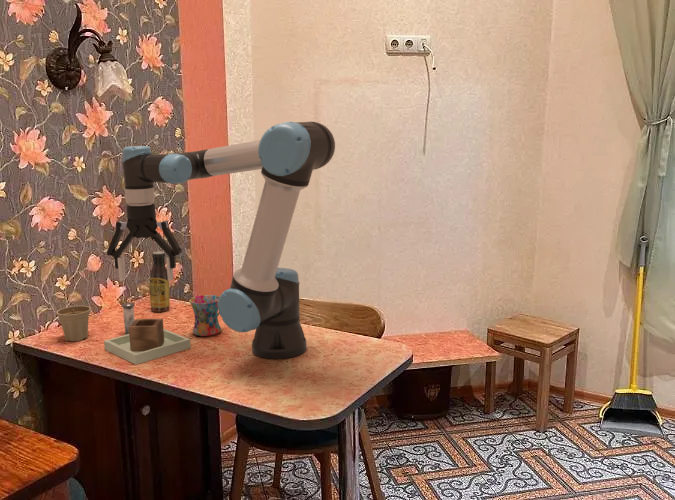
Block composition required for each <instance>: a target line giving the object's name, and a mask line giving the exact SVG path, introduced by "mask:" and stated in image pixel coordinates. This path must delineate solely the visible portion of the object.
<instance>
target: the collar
mask: <svg viewBox="0 0 675 500" xmlns="http://www.w3.org/2000/svg"><path fill="white" fill-rule="evenodd" d="M164 329H165V328H164V318H135V321H134V322H133V323H132V324H131V325H130V327H129V338H130V350H131V351H132V352H141V351H147V350H150V349H154V348H157V347H160V346H162V345H163V343H164Z"/></svg>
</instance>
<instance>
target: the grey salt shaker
mask: <svg viewBox="0 0 675 500" xmlns="http://www.w3.org/2000/svg"><path fill="white" fill-rule="evenodd" d="M134 307H135V303H134V302H132V301H131V302H124V303H122V304H121V308H122V310H123V311H122V312H123V322H124V335H127V334H129V327H130V325H131V324H132V323H133V322H134V321H135V320H136V318H135V309H134Z"/></svg>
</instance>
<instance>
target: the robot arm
mask: <svg viewBox="0 0 675 500" xmlns="http://www.w3.org/2000/svg"><path fill="white" fill-rule="evenodd" d="M335 149H336V141H335V137H334V135H333V133H332V132H331V130H330V129H329V128H328V127H327V126H326V125H324V124H322V123H319V122H316V121H301V122H300V121H298V122H295V121H285V122H284V121H283V122H281V123H278V124H275V125H272V126H271V127H269V128H268V129H266V131H265V132H264V133H263V134H262V136H261V138H260V139H258V140H257V139H256V140H254V141H253V140H252V141H247V142H240V143H235V144H230V145H224V146H219V147H212V148H208V149H202V150H201V149H200V150H195V151H187V152H186V151H185V152H176V153H175V152H174V153H156V154H155V153H152V148H151V147H150V146H149V145H134V146H133V145H131V146H130V145H129V146H124V148H123V149H122V153H121V154H122V155H121V156H122V158H121V159H122V162H121V164H122V170H123V180H124V193H125V203H126V204H127V206H126V218H127V221H126V222H124V221H123V220H120V221H118V222H115V231H114V234H113V236H112V239H111V241H110V244H109V246H108V249H107V252H106V255H108V256H110V257H113V258H114V259H113V261H114V268H115V269H116V270H117V269H118V280H119V282H123V281H125V280H126V279H127V277H126V265H125V256H124V255H122V254H123V253H124V251H125V250H126V249H127V248H128V246H129V245H130V244H131V242H132V241H133V239H134V238H136V239H141V238H143V239H148V238H149V239H152V240H153V241H154V242H155V243H156V244H157V245H158V246H159V248H161V249H162V251H163V252H165V255H167V256H166V258H165V259H166V260H165V262H166V269H167V276H168V281H169V282H171V281H172V280H174V269H175V268H176V266H177V264H176V263H177V261H176V257H177V256H179V255H180V254H181V253H182V252H183V250H182V248H181V247H180V245H179V243H178V241H177V239H176V238H175V236H174V234H173V232H172V231H171V229H170V226H169V225H170V224H169V221H168V220H163V221H159V222H158V221H157V215H156V214H157V213H156V212H157V211H156V204H154V202H155V200H156V199H155V188H154V183H163V184H171V185H174V184H183V183H186V182H188V181H191V180H197V179H206V178H211V177H217V176H223V175H229V174H231V175H232V174H237V173H243V172H244V173H245V172H251V171H257V170H261V172H260V173H261V174H260V175H262V177H263V179H264V184H263V188H262V191H261V194H260V195H261V196H260V198H259V203H258V206H257V211H256V214H255V218H254V221H253V222H254V223H253V225H252V229H251V233H250V237H249V241H248V243H247V248H246V251H245V255H244V257H243V263H242V266H241V268H240V269H237V270H236V271H234V273H233V276H232V279H231V284H230V287H229V288H228V289H225V290H223V292H222V293H221V294H220V295H219V300H218V312H219V316H220V317H221V318H222V321H223V323H224V324H225V325H226V326H227V327H228V328H229V329H231V330H232V331H235V332H236V333H237V332H238V333H248V332H251V331H254V330H255V332H254V337H253V339H252V341H251V349H252V350H251V351H252V353H253V355H255V356H257V357H259V358H263V359H271V360H283V359H291V358H294V357H297V356H298V357H299V356H300V355H302V354H304V353H305V352H306V351H307V349H308V348H307V347H308V346H307V345H308V344H307V343H308V342H307V339H306V338H307V337H305V333H304V331H303V327H302V324H301V322H300V320H301V319H300V315H301V314H300V281H299V273H298V272H297V271H296V270H295V269H293V268H286V267H279V265H280V261H281V257H282V254H283V250H284V247H285V244H286V240H287V236H288V233H289V229H290V227H291V223H292V221H293V216H294V213H295V209H296V206H297V202H298V199H299V195H300V192H301V190H304V189H306V188H308V186H309V185H310V180H311V177H312V174H313V171H315V170H318V169H321V168H323V167H324V166H326V165H327V164H328V163H329V162H330V161H331V160H332V158H333V156H334V154H335ZM126 228H127V229H128V231H129V232H128V233H127V235H126V237H125V238H124V240H123V241H122V243H121V244H120V245H119V242H120V239H121V238H122V235H123V232H124V230H125V229H126ZM158 228H159V229H160V230H161V231H162V233H163V234H164V236H165V238H166V240H167V242H166V240H165V239H164V238H163V237H162V236H161V234H160V233H159V232H158V231H157V229H158ZM118 245H119V247H118Z"/></svg>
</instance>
